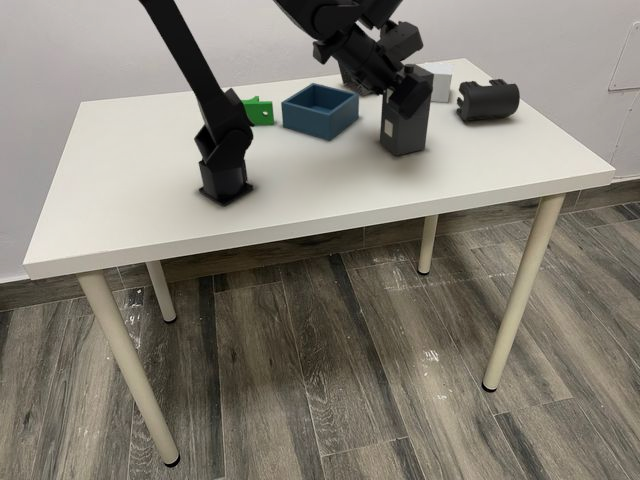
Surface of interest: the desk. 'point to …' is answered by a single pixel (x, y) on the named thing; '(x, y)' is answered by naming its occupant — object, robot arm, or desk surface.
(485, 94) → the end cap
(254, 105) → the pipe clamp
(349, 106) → the compartment
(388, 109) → the tower
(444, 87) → the white cube
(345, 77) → the electrical switch
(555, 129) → the desk surface
